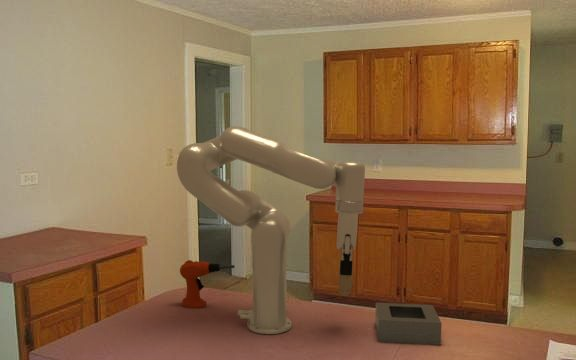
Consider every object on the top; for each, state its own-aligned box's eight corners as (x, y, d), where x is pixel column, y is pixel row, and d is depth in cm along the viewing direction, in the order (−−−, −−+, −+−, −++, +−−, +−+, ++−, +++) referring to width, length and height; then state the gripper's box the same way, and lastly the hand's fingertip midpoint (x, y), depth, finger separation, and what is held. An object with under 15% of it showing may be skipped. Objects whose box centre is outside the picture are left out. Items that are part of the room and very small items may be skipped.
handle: (336, 297, 138) (338, 242, 136) (336, 290, 144) (338, 238, 143) (353, 298, 137) (356, 244, 136) (353, 291, 144) (356, 239, 142)
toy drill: (236, 307, 156) (230, 259, 155) (180, 309, 160) (174, 262, 159) (241, 301, 160) (235, 255, 159) (186, 304, 165) (180, 259, 164)
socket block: (378, 342, 133) (378, 319, 133) (375, 322, 147) (375, 302, 147) (440, 345, 132) (441, 322, 131) (432, 325, 145) (432, 305, 145)
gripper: (336, 202, 147) (333, 264, 149) (334, 210, 130) (331, 280, 132) (362, 203, 146) (358, 265, 148) (363, 212, 130) (360, 282, 131)
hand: (345, 271), depth 140 cm, fingers closed on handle, 4 cm apart
